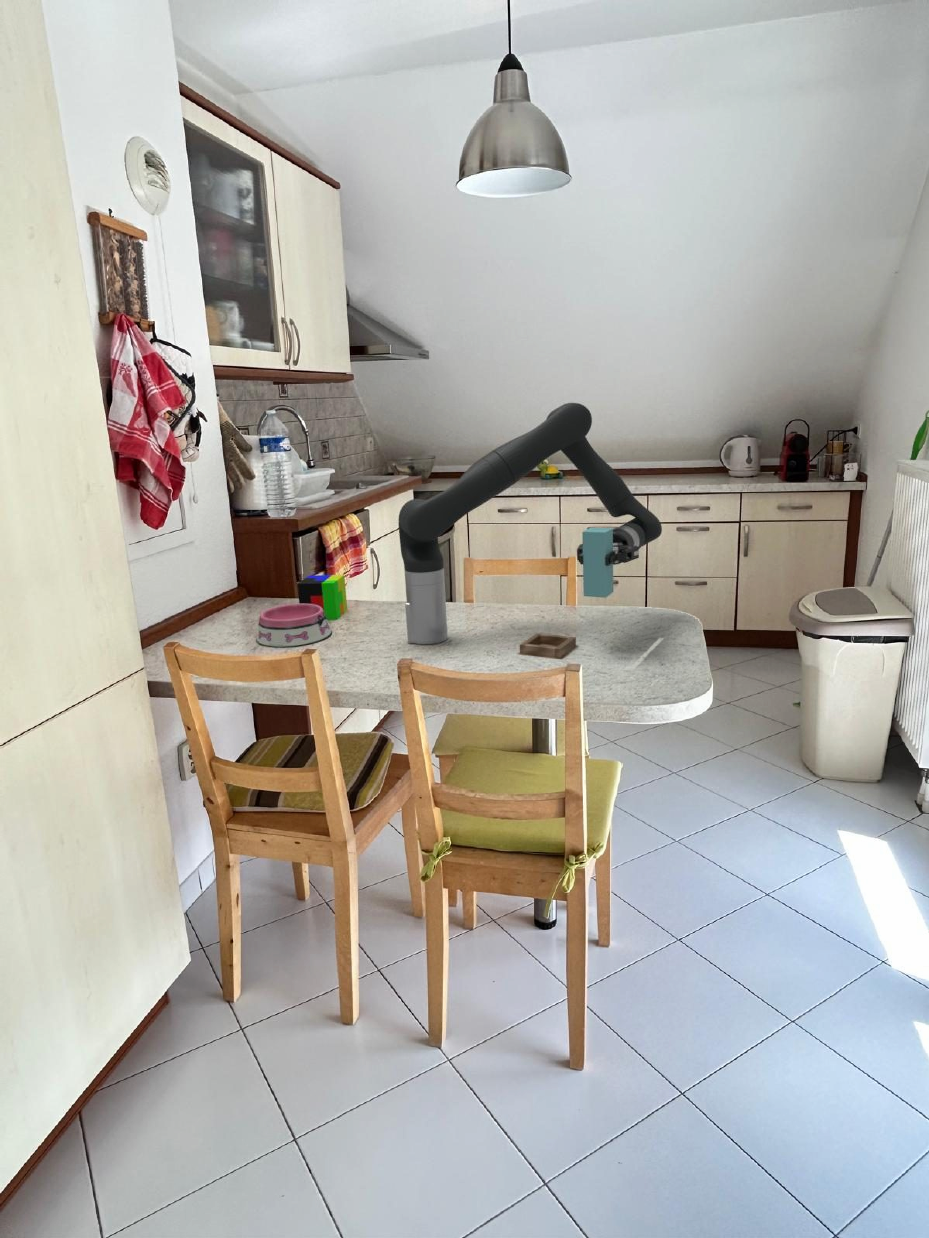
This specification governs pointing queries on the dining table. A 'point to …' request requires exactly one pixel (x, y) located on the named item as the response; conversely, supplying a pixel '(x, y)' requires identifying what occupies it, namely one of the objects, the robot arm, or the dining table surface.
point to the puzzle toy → (324, 594)
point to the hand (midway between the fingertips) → (594, 560)
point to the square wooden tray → (548, 646)
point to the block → (597, 562)
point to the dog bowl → (292, 626)
